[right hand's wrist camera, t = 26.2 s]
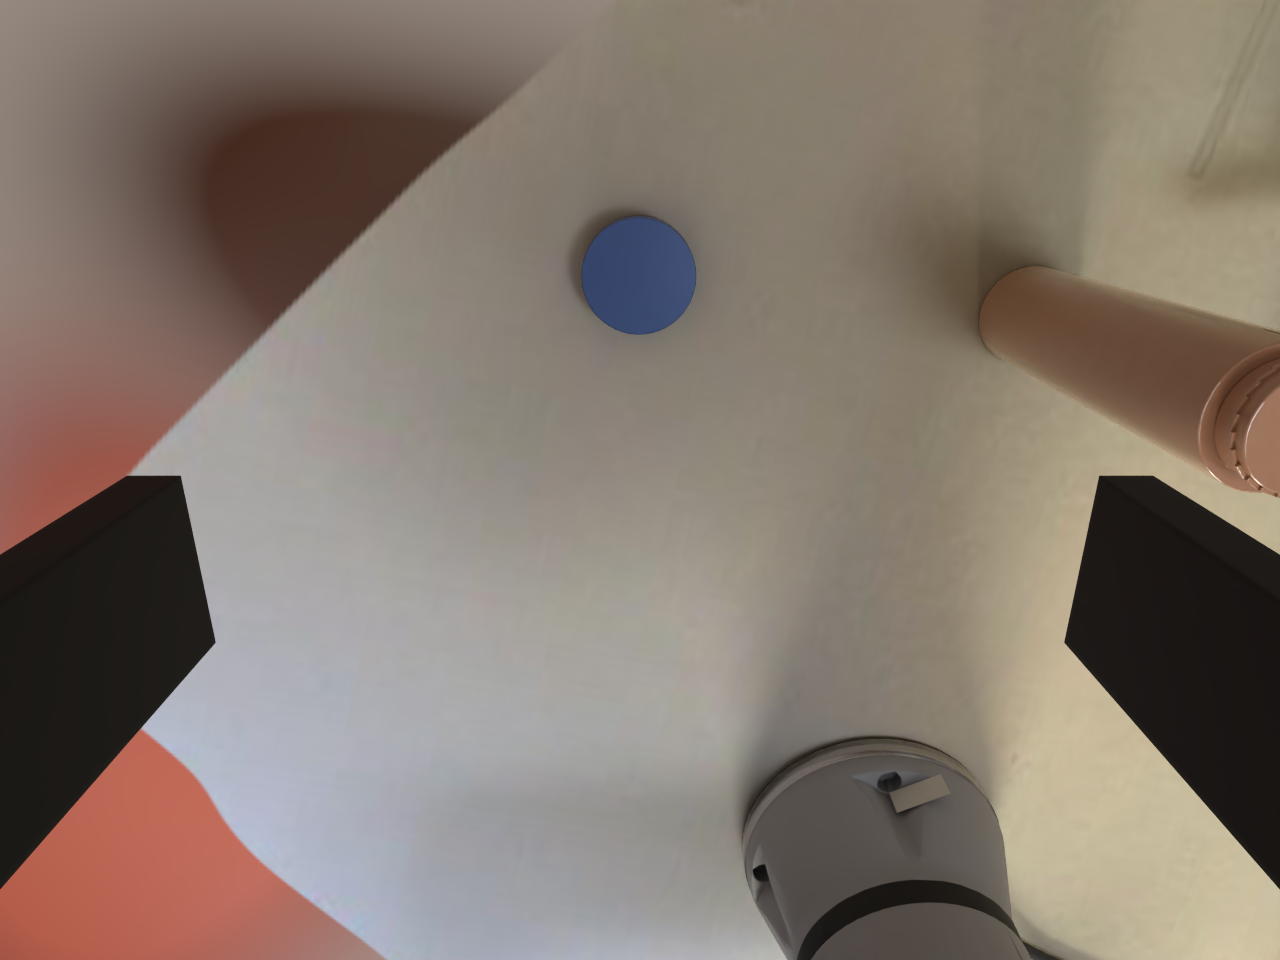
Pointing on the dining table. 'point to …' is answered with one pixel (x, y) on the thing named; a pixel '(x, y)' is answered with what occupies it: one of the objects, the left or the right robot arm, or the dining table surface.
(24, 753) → the right robot arm
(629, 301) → the lid
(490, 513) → the dining table surface
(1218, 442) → the jar
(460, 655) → the dining table surface
